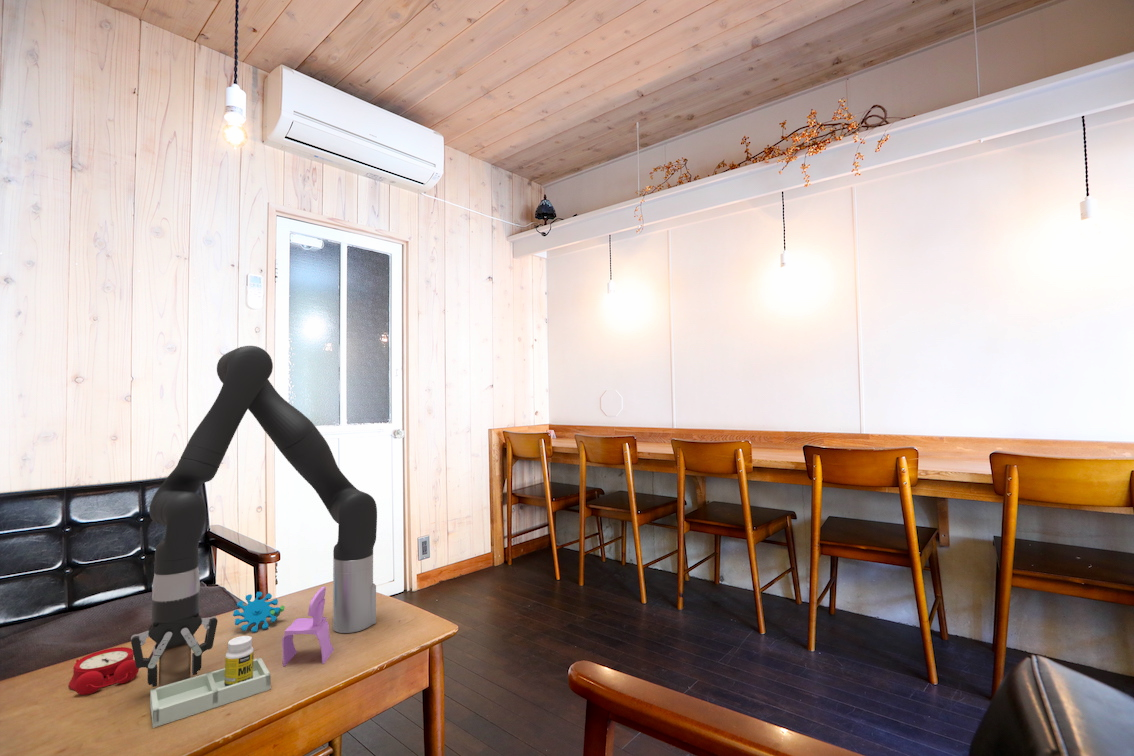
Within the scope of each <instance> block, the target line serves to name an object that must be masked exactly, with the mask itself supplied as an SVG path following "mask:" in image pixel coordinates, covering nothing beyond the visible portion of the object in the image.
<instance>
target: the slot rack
mask: <svg viewBox="0 0 1134 756" xmlns="http://www.w3.org/2000/svg"><path fill="white" fill-rule="evenodd" d="M271 676H272V675H271V673H270V671H269V669H268V668H267V666H266V664H265V662H264V660H263V659H262V658H261V657H258V658H253V678H252V679H249V680H246V681H242V682H239V683H236V684H233V685H230V686H226V687H225V686H224V683H225V667H224V668H223V667H222V668H220V669H217V670H213V671H209V672H205V673H203V674H202V673H201V674H200V675H195V676H193V677H190V678H189V679H185V680H182V681H178V682H175V683H171V684H168V685H165V686H161V687H159V686H158V687H153V688H152V689H150V690H149V691H150V694H149V708H150V714H151V715H150V716H151V724H152V729H154V728H157V727H159V726H160V727H161V726H162V725H166V724H169V723H172V722H177V721H178V720H181V719H185V718H188V717H190V716H193V715H197V714H200V713H202V712H205V711H209V710H211V709H215V708H218V707H221V706H224V705H227V704H230V703H232V702H233V703H234V702H236V701H239V700H242V699H247V698H248V697H251V696H255V695H258V694H261V693H264V692H266V691H269V690H271V683H272V682H271V678H272V677H271Z"/></svg>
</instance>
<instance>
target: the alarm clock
mask: <svg viewBox="0 0 1134 756" xmlns="http://www.w3.org/2000/svg"><path fill="white" fill-rule="evenodd" d="M72 669H73V674H72V677H71V679H70V681H69V682H68V688H69V689H70V690H73V691H76V693H77V694H78V695H80V696H88V695H92V694H95V693H96V692H98V691H99V690H100V689H101V688H105V687H109V686H111V685H112V686H113V685H115V684H119V685H121V684H122V685H123V684H126V683H129V682H131V681H133V680H134V678H135V677H137V675H138V673H139V670H140V668H136V664H135V659H134V654H133V649H132V647H131V648H130V647H125V646H123V647H122V646H121V647H113V648H107V649H103V650H99V651H96V652H93V653H90V654H87V655H85V656H83V657H82V658H80V659H78V658H77V659H76V662H75V663H74V665H73V668H72Z"/></svg>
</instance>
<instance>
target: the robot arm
mask: <svg viewBox="0 0 1134 756" xmlns="http://www.w3.org/2000/svg"><path fill="white" fill-rule="evenodd" d="M273 364H274V363H273V360H272V357H271V355H270V354H269V353H268V352H267V351H266V350H265V349H264V348H262V347H259V346H257V345H244V346H239V347H237V348H235V349H231V350H230V351H228V352H227V353H224V354H223V355H222V356H221V357H220V358H219V360H218V361H217V364H216V373H217V376H218V378H219V380H220V382H221V383H222V386H221V388H220V390H219V393H218V395H217V397H216V399H215V400H214V402H213V403H212V405H211V407H210V409H209V410H208V412H207V413H206V414H205V416H204V417H203V419H202V420H201V422H200V423H199V424H198V426H197V427H196V429H195V430H194V432H193V433H192V435H191V437H190V438H189V440H188V441H187V444H186V446H185V448H184V450H183V452H182V453H181V455H180V459H179V460H178V462H177V465H176V466H175V468H174V469H173V470H172V471H171V472H170V473H169V474H168V476H167V477H166V479H165V480H164V481H163V483H162V484H161V485H160V486H159V488H158V489H157V491H156V492H155V494H154V495H153V497H152V499H151V501H150V504H149V517H150V519H151V520H152V521H153V522H154V523H156V524H158V525H160V526H165V527H166V529H165V534H164V540H162V541H160V542H159V543H158V544H157V545H156V547H155V552H154V565H153V567H154V569H153V570H154V573H153V575H154V576H153V580H152V587H151V591H152V593H151V624H150V627H149V628H148V630H145V631H143V632H141V633H136V632H135V633H133V634H131V636H130V645H131V649H132V650H133V654H134V656H133V660H135V664H136V668H139V669H142V668H146V669H147V684H148V685H149V686H152V687H151V688H156V687H157V686H158V664H157V663H158V662H159V658H160V656H161V655H162V653H163V651H164V649H165V648H166V649H167V648H171V647H173V646H175V645H183V644H186V642H187V643H188V645H189V646H190V648H191V674H192V676H198V672H199V671H201V669H202V660H203V659H202V655H203V653H204V652H206V651H208V650H209V651H210V650H211V649H212V648H213V646H214V643H215V637H216V631H217V625H218V618H217V616H216V615H214V614H212V615H210V616H209V617H201V615H200V588H201V582H200V571H199V545H200V542H201V539H202V535H203V531H204V527H205V522H206V519H207V506H206V503H205V499H204V498H203V497H202V496H201V495H200V494H198V493H197V492H198V490H199V489H200V488H201V486H202V485H203V484H205V483H208V482H210V481H212V480H213V479H214V478H215V476H216V474H217V473H218V471H219V468H220V466H221V464H222V461H223V460H224V458H225V455H226V453H227V451H228V450H229V446H230V444H231V442H232V440H233V438H234V436H235V434H236V432H237V429H238V428H239V426H240V423H241V421H242V420H243V418H244V416H245V414H246V412H248V411H249V412H250V413H251V414H252V416H253V418H255V419H256V421H257V422H258V424H259V426H261V428H262V429H263V431H264V432H265V433H266V434H267V436H268V437H269V438H270V439H271V441H272V442H273V444H274V445H275V446H276V447H277V449H278V451H279V452H281V454H282V455H283V457H284V458H285V459H286V460H287V462H288V463H289V464H290V465H291V466H292V468H293V469H294V470H295V471H297V473H298V474H299V475H300V477H302V478H303V479H304V480H305V481H306V482H307V484H309V485H310V486H311V487H312V489H314V491H315V492H316V494H317V495H318V496H319V498H320V500H321V502H322V503H323V504H324V507H325V508H326V509H327V512H328V514H329V515H330V516H331V519H333V521H334V522H335V523H336V524H338V530H337V531H338V532H337V533H338V535H337V542H336V544H335V545H334V546H333V555H332V556H333V558H332V559H333V560H332V561H333V566H332V567H333V568H332V569H333V570H332V571H333V574H332V577H333V578H332V579H333V581H332V584H333V585H332V586H333V587H332V592H333V593H332V630H333V631H334V632H337V633H340V634H350V633H351V634H352V633H357V632H360V631H363V630H367V628H369V627H371V626H372V625H375V624H377V585H376V583H374V546H375V544H376V541H377V527H378V526H377V525H378V507H377V503H376V500H375V498H374V497H373V496H372V495H371V494H369V493H366V492H364V491H362V490H359V489H358V488H357V487H355V486H354V484H352V482H351V481H349V479H348V478H347V477H346V475H344V473H343V472H342V471H341V469H340V468H339V466H338V465H337V462H336V460H335V457H334V454H333V452H332V450H331V448H330V445H329V444H328V442H327V440H326V439H325V437H324V436H323V435H322V433H321V432H320V431H319V429H318V428H317V426H316V425H315V424H314V423H313V421H312V420H311V419H310V418H308V417H307V416H306V415H305V414H304V413H303V412H302V411H300V410H299V409H297V408H296V407H295V406H293V405H292V404H291V403H289V402H288V401H287V400H286V399H284V398H283V397H282V396H281V394H280V393H278V392H277V390H276V389H275V387H274V386H273V384H272V383H271V381H270V380H269V378H270V377H271V375H272V372H273V370H274V369H273V367H274V366H273ZM201 625H203V629H205V630H206V632H205V638H204V641H203V642H202V643H199V642H198V641H197V639H196V637H195V634H196V632H198V630H199V628H200V626H201ZM147 638H150V639H152V641H154V642H155V644H154V646H153V648H152V650H151V653H150V655H149V657H144V654H143V650H142V649H143V648H142V646H144V645H145V644H146V640H147Z"/></svg>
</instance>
